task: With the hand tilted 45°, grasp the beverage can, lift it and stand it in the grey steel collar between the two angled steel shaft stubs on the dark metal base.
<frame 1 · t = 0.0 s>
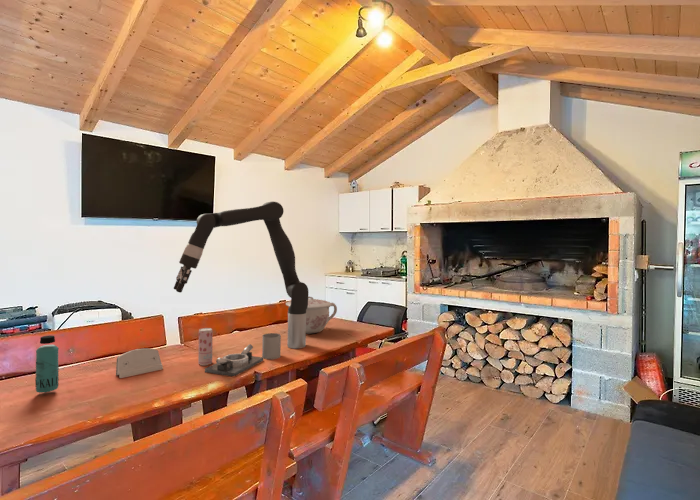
hand: (177, 290, 172), 31 cm above the table, tool tilted 20°, fingers open, 8 cm apart
beverage can: (205, 364, 172), on the table
cup: (271, 357, 184), on the table
chamber pot: (308, 331, 235), on the table
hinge: (139, 372, 161), on the table
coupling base: (235, 366, 169), on the table
beverage bottle: (47, 394, 137), on the table
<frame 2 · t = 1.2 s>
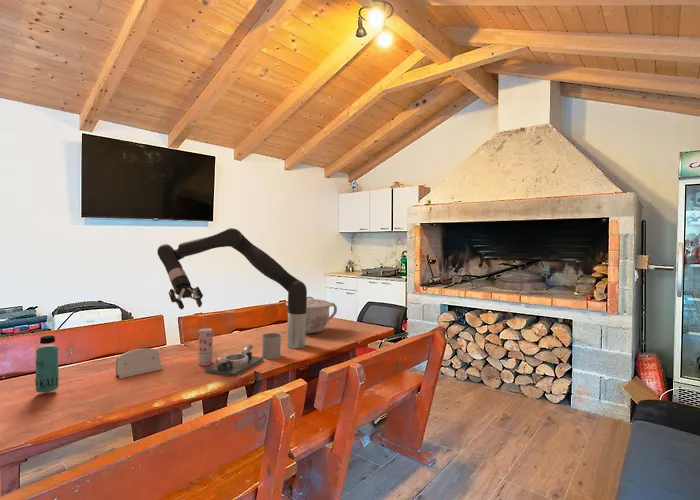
hand: (191, 307, 179), 23 cm above the table, tool tilted 45°, fingers open, 8 cm apart
nothing on the table moved.
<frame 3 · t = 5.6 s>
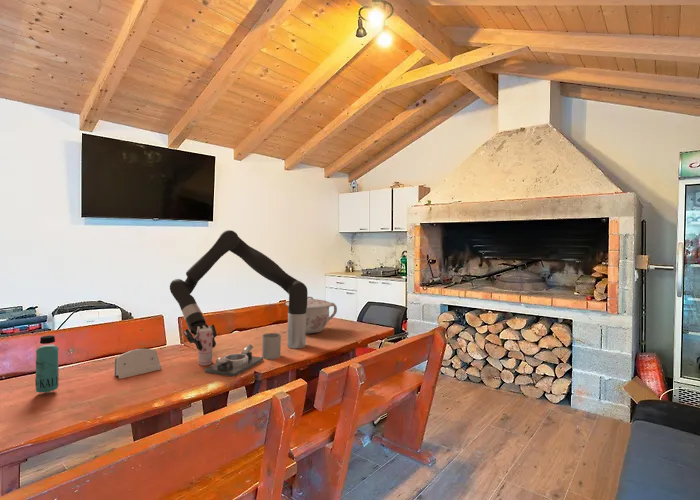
hand: (207, 347, 171), 7 cm above the table, tool tilted 45°, fingers closed on beverage can, 5 cm apart
beverage can: (205, 363, 172), on the table, touching gripper
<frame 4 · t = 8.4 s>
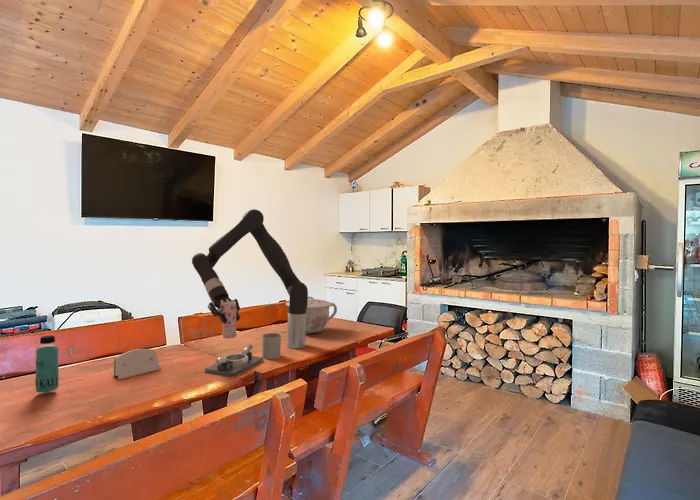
hand: (232, 321, 169), 20 cm above the table, tool tilted 45°, fingers closed on beverage can, 5 cm apart
beverage can: (229, 337, 170), point 12 cm above the table, touching gripper
when the fingers open (11 cm above the table, at t = 11.5 s): beverage can drops 2 cm, resting on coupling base.
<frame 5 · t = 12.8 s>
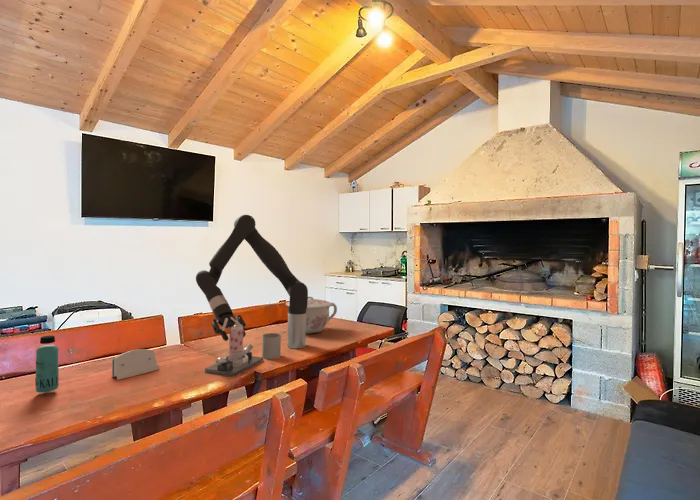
hand: (235, 338, 169), 12 cm above the table, tool tilted 45°, fingers open, 8 cm apart
beverage can: (235, 362, 169), point 1 cm above the table, touching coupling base
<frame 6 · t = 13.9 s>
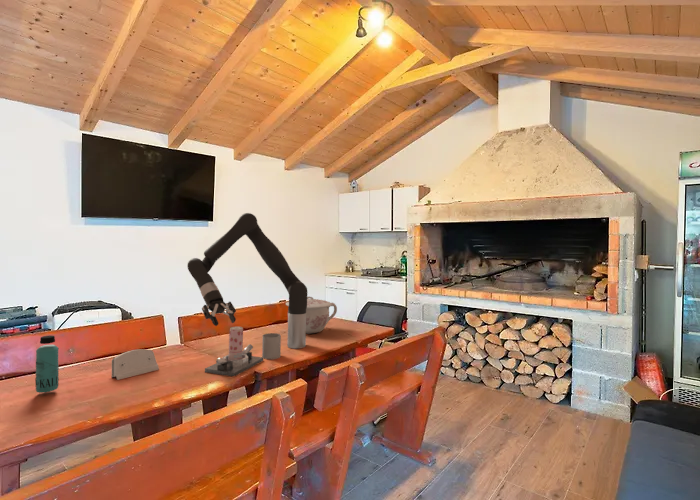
hand: (225, 323, 173), 17 cm above the table, tool tilted 45°, fingers open, 8 cm apart
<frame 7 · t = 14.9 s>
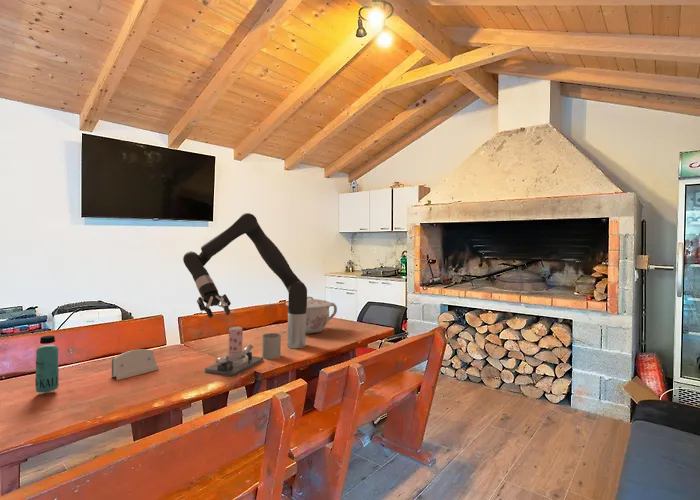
hand: (220, 315, 176), 20 cm above the table, tool tilted 45°, fingers open, 8 cm apart
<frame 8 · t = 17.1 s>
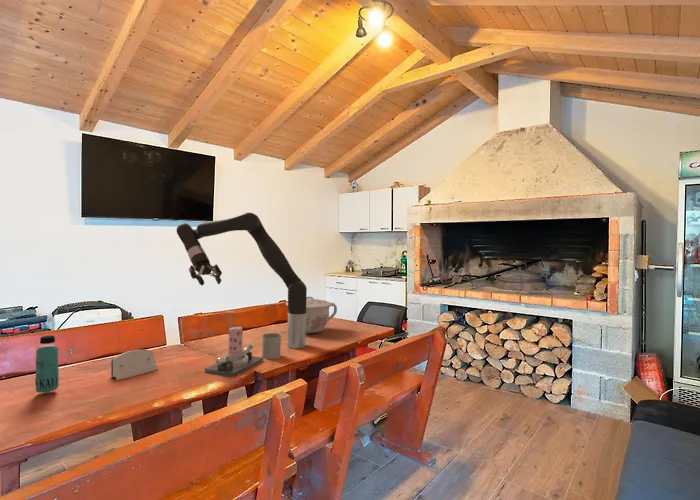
hand: (211, 283, 182), 34 cm above the table, tool tilted 45°, fingers open, 8 cm apart
at the end: beverage can 0.2 cm off-centre on the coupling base, point 1.3 cm above the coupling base's base; beverage can tilted 1°; the gripper is holding nothing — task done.
